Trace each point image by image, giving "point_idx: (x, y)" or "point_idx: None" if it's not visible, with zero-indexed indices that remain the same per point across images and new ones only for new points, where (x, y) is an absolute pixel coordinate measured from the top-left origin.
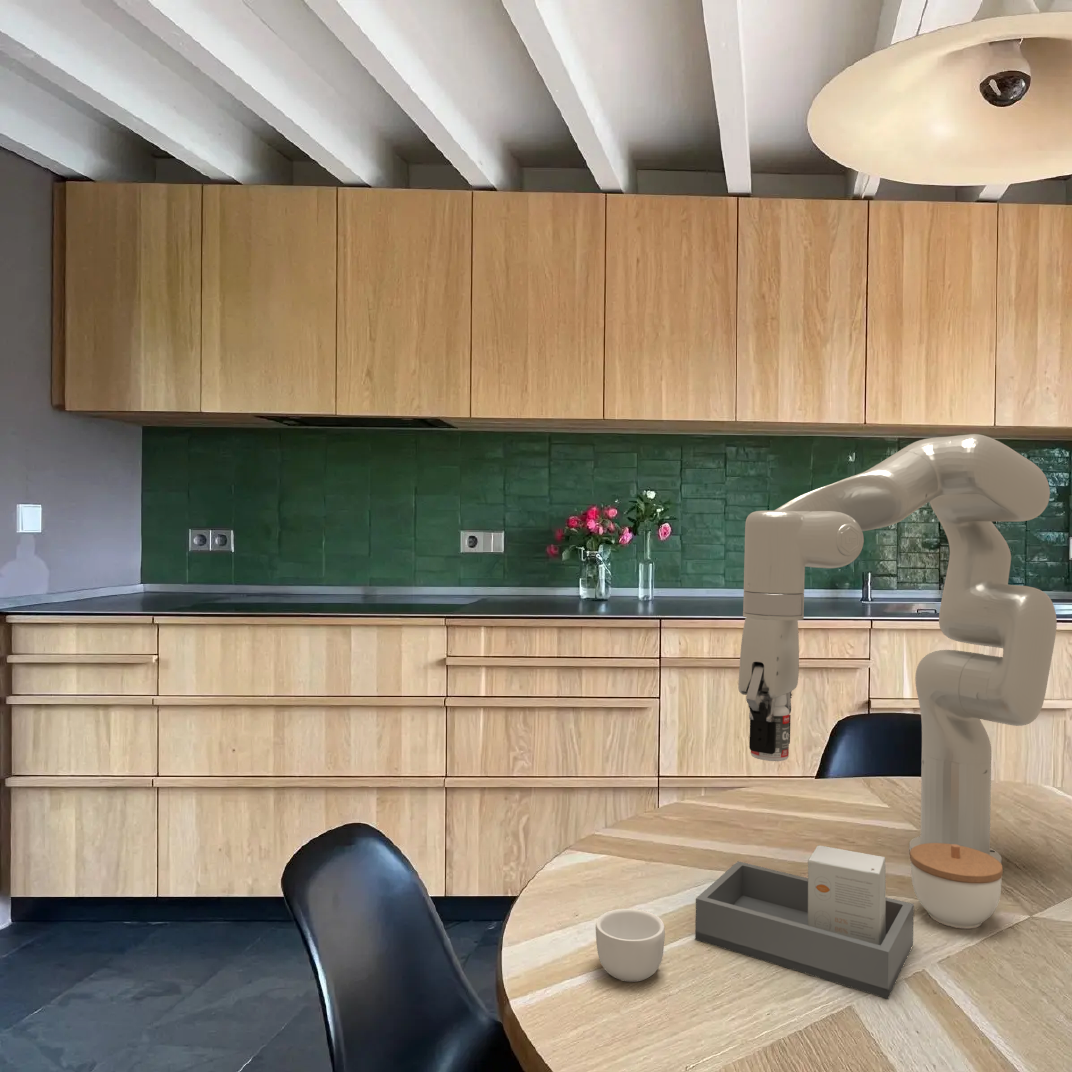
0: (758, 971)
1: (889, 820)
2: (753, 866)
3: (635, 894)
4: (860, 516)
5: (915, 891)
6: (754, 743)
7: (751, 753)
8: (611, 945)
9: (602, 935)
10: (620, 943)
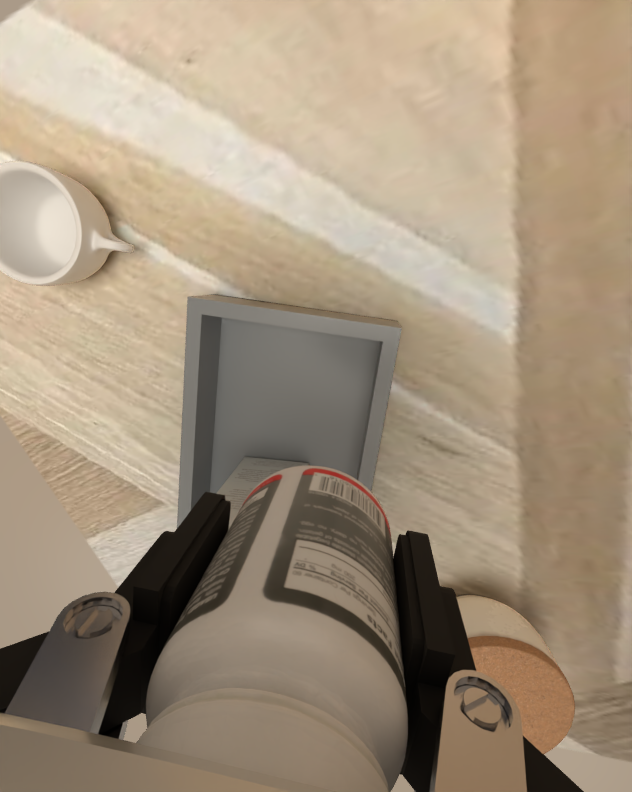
0: (178, 397)
1: None
2: (386, 363)
3: (325, 131)
4: None
5: (459, 605)
6: (165, 533)
7: (273, 474)
8: None
9: None
10: None
